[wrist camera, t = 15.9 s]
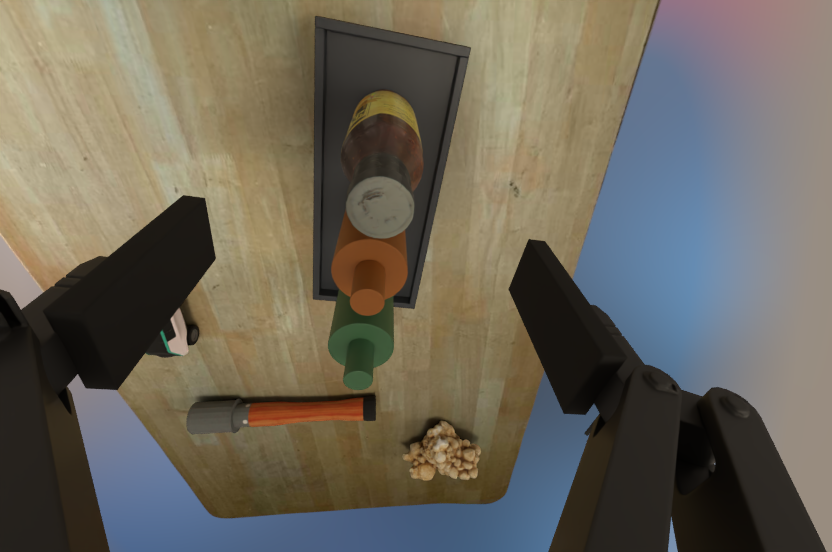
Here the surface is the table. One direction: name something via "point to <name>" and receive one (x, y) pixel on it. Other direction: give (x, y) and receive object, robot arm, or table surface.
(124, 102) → the table surface
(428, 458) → the mineral formation
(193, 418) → the stick grenade
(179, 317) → the toy car
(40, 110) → the table surface
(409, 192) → the sauce bottle
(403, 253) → the amber bottle
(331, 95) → the tray
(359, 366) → the green bottle
